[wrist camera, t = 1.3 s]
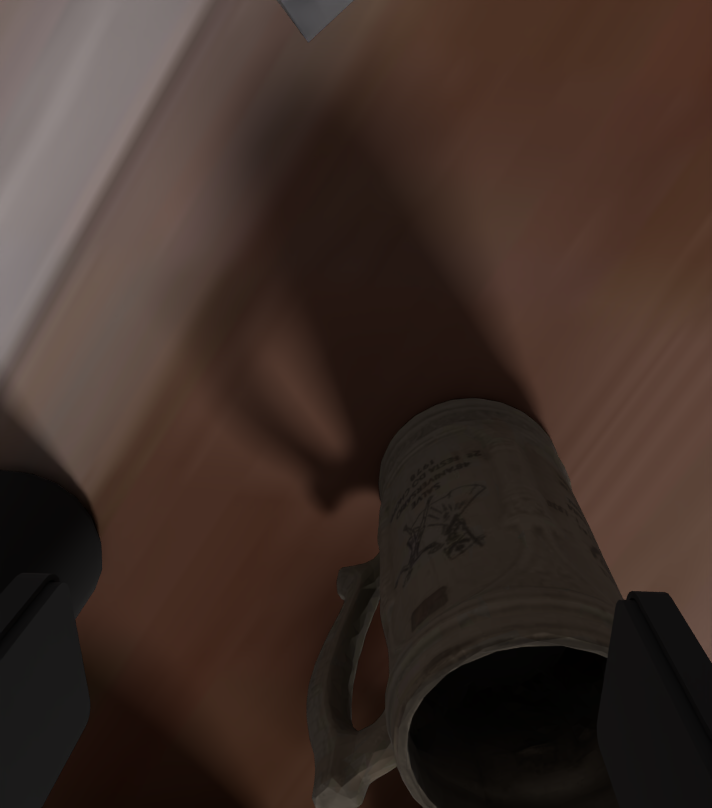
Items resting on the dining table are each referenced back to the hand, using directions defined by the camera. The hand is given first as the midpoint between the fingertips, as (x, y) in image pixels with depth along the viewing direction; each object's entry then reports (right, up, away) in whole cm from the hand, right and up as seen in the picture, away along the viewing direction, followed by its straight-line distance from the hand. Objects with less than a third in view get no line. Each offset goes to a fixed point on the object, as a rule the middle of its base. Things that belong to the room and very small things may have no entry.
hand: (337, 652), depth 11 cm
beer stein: (+5, -2, +30) cm, 30 cm away
